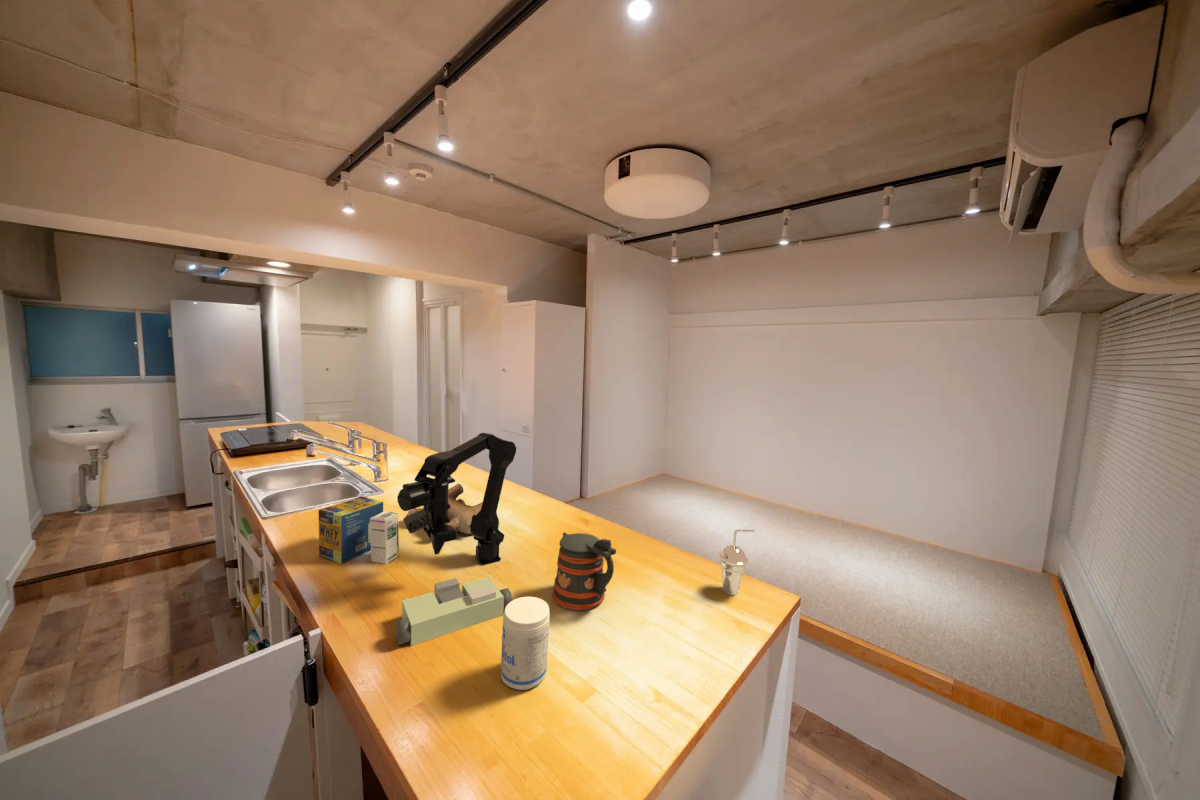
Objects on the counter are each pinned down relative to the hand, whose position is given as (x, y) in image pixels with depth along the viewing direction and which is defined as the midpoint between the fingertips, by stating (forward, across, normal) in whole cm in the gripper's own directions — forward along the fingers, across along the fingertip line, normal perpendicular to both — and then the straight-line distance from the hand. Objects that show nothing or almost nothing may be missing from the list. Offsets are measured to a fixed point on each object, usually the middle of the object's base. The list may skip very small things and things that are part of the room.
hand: (436, 553), depth 115 cm
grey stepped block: (+10, +13, 0) cm, 16 cm away
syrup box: (+10, -24, -10) cm, 28 cm away
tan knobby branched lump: (+10, -39, +16) cm, 43 cm away
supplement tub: (+10, +43, +7) cm, 45 cm away
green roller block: (+10, +17, 0) cm, 20 cm away
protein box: (+10, -35, -17) cm, 40 cm away
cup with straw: (+10, +47, +73) cm, 87 cm away
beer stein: (+10, +27, +33) cm, 44 cm away
